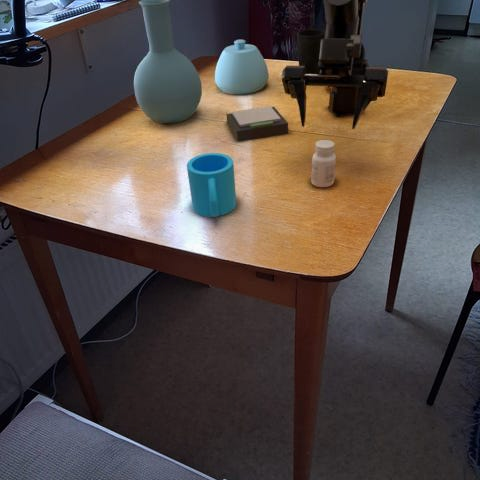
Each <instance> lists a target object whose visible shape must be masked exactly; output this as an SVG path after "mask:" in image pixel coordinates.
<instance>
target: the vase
mask: <svg viewBox="0 0 480 480" xmlns="http://www.w3.org/2000/svg"><path fill="white" fill-rule="evenodd" d="M170 3H171V0H140V1H138V4H139V5H140V6H141V8H142V13H143V19H144V25H145V30H146V36H147V41H148V45H149V50H148V53H147V54H146V56H144V57H143V59H142V60H141V61H140V63H139V64H138V65H137V67H136V70H135V72H134V77H133V89H134V96H135V99H136V103H137V104H138V106H139V108H140V110H141V111H142V112H143V113H144V114H145V115H146V116H147V118H149V119H151V120H153V121H154V122H156V123H159V124H160V123H161V124H174V123H175V124H176V123H180V122H183V121H186V120H187V119H189V118H191V117H192V116H193V115H194V114H195V112H196V111H197V109H198V107H199V105H200V103H201V101H202V96H203V86H202V80H201V77H200V74H199V73H198V70H197V68H196V67H195V65H194V64H193V62H192V61H191V60H190V59H189V58H187V56H185V55H184V54H182V53H181V52H179V51H178V50H177V48H175V45H174V38H173V37H174V36H173V29H172V20H171V18H172V17H171V13H170V12H171V11H170V7H169V6H170V5H169V4H170Z"/></svg>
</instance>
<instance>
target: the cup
mask: <svg viewBox="0 0 480 480" xmlns="http://www.w3.org/2000/svg"><path fill="white" fill-rule="evenodd" d="M325 33H326V30H325V29H321V28H306V29H301V30H299V31H297V32H296V38H297V39H296V42H297V57H298V59H297V60H298V66H305V70H306V74H320V70H319V69H318V63H319V55H320V45H321V39H325Z"/></svg>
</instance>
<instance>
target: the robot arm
mask: <svg viewBox="0 0 480 480" xmlns="http://www.w3.org/2000/svg"><path fill="white" fill-rule="evenodd" d="M368 1H369V0H322V3H323V11H324V19H325V23H326V27H325V31H326V33H325V39H321V45H320V55H319V63H318V69H319V70H320V74H306V70H305V66H299V65H286V66H285V67H283V70H282V74H281V82H282V85H283V90H284V94H287V95H290V98H291V99H296V103H297V105H298V111H299V117H300V124H301V127H302V128H304V127H305V126H306V125H305V124H306V119H307V118H306V117H307V100H308V99H307V97H308V96H307V87H308V86H309V87H328V88H329V87H332V89H331V91H329V98H328V101H329V102H328V106H327V109H328V110H329V111H330V112H331V113H332V114H333V115H334V116H335V117H338V118H340V117H346V116H352V115H353V117H352V124H351V129H352V130H355V129H356V127H357V125H358V123H359V121H360V120H361V117H362V116H363V114H364V112H365V111H366V110H367V108H368V107H369V105H370V104H371V102H376V101H378V98H383V97H385V96H386V92H387V91H386V90H387V84H388V76H389V70H388V68H387V67H386V66H370V64H369V63H368V58H366V49H365V47H364V44H363V35H362V28H363V21H364V20H363V19H364V13H365V11H364V10H365V4H367V3H368Z"/></svg>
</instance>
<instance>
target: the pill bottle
mask: <svg viewBox="0 0 480 480" xmlns="http://www.w3.org/2000/svg"><path fill="white" fill-rule="evenodd" d="M335 146H336V145H335V142H334V141H332V140H330V139H321V140H317V141H316V142H315V147H314V151H315V152H314V153H313V155H312V158H311V176H310V177H311V178H310V180H311V184H312V185H313V186H315V187H317V188H328V187H331V186H332V185H333V184H334V183H335V177H336V176H335V175H336V163H337V155H336V154H335V153H334V152H335Z"/></svg>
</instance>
